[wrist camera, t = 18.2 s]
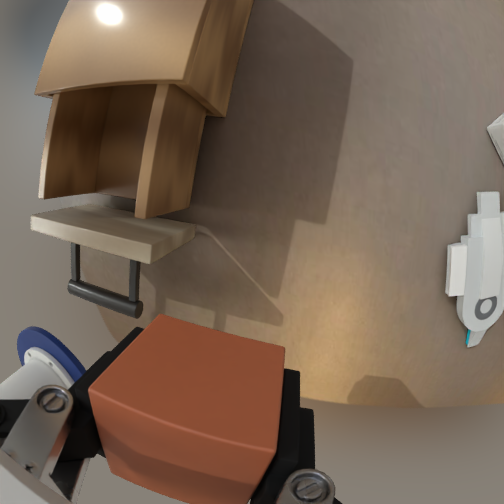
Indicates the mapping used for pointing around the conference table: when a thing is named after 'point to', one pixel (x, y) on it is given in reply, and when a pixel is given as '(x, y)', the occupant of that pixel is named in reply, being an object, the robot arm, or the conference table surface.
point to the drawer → (120, 176)
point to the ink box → (498, 135)
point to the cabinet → (148, 47)
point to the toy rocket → (479, 268)
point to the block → (191, 411)
